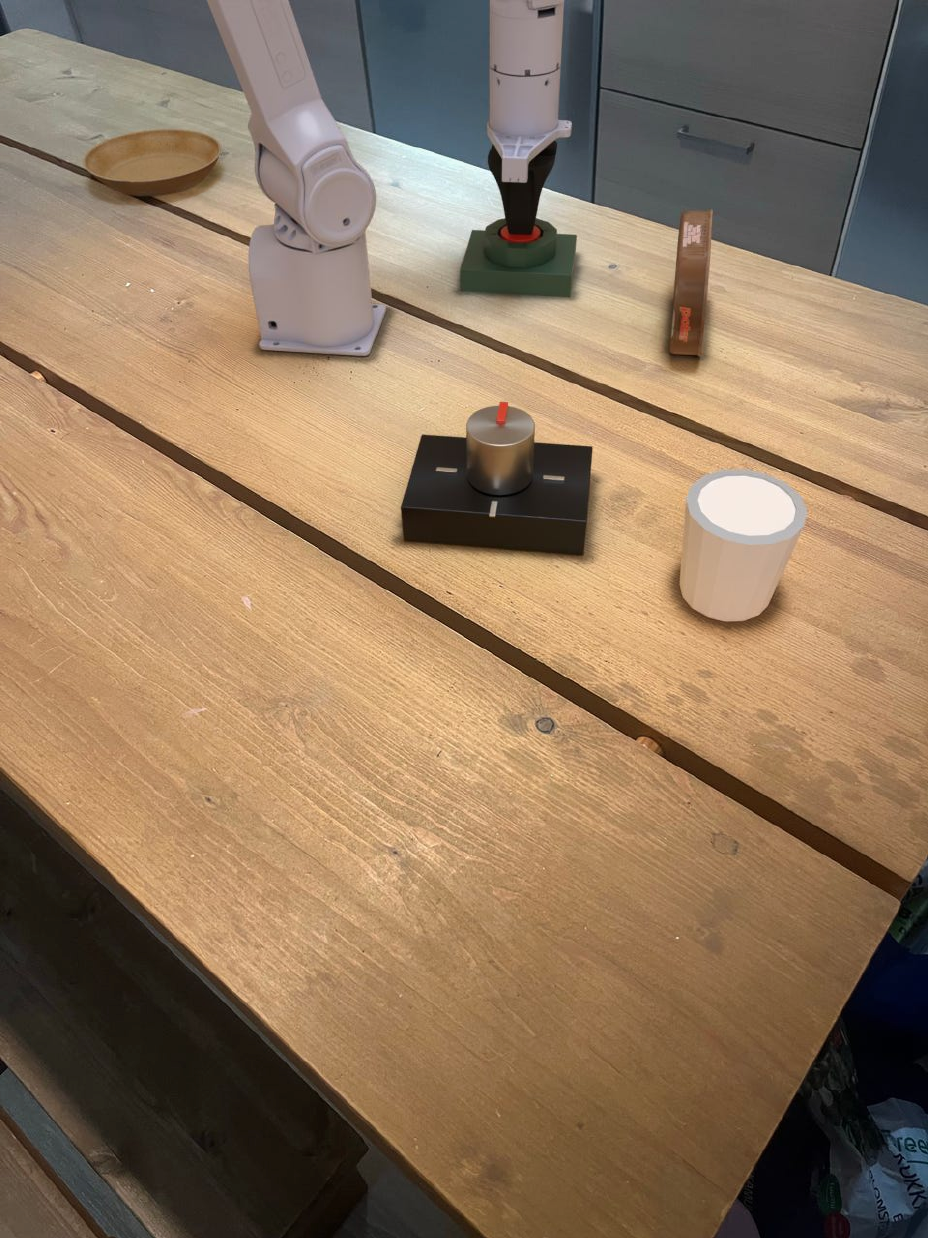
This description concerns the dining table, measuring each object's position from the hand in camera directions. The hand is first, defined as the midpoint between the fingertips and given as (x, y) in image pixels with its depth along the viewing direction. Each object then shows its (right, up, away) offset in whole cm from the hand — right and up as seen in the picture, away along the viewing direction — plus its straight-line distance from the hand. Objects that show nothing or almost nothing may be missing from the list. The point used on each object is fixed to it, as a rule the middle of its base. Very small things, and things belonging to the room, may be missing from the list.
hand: (520, 231), depth 86 cm
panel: (-3, -28, -20) cm, 34 cm away
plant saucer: (-39, +14, +20) cm, 46 cm away
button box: (0, -3, +3) cm, 4 cm away
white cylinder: (+11, -33, -26) cm, 44 cm away
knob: (-3, -25, -23) cm, 34 cm away
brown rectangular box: (+14, -10, -4) cm, 18 cm away
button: (0, -1, +1) cm, 2 cm away
